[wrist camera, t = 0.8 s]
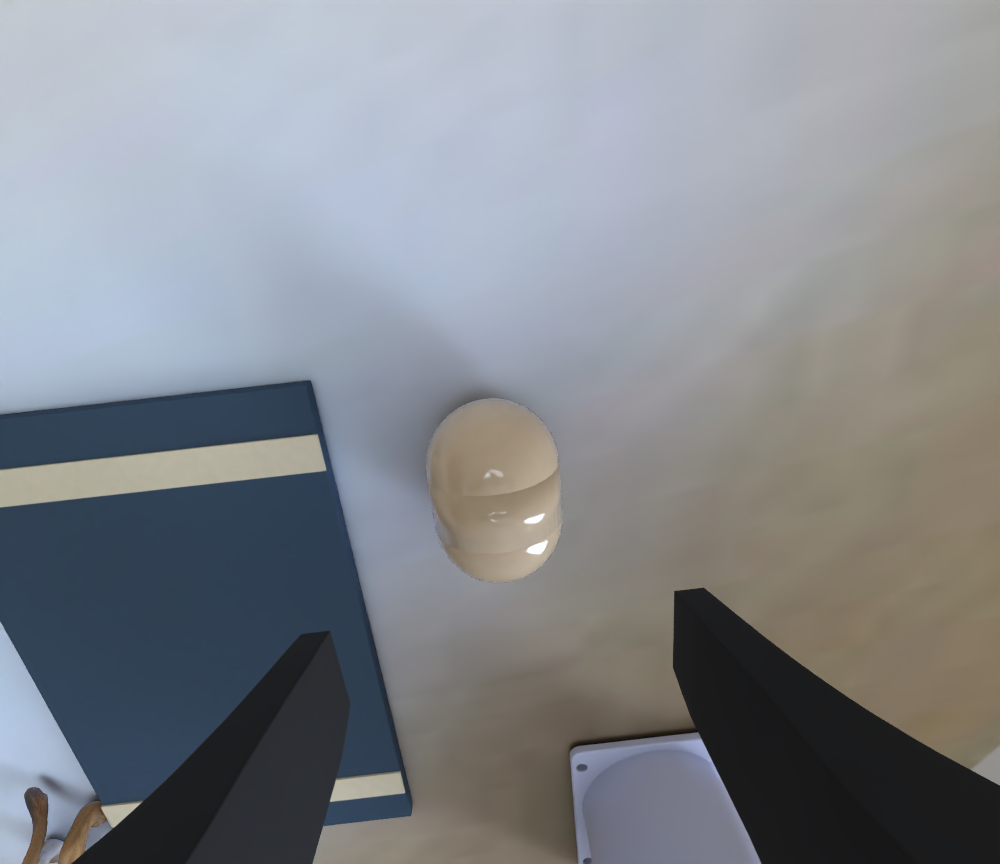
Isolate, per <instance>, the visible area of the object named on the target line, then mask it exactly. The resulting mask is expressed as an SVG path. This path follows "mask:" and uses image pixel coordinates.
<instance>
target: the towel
mask: <svg viewBox="0 0 1000 864" xmlns="http://www.w3.org/2000/svg"><path fill="white" fill-rule="evenodd" d="M0 621H1V623H2V625H3V627H4V628H5V630H6V632H7V634H8V636H9V637H10V639H11V641H12V643H13V645H14V646H15V648H16V650H17V652H18V654H19V655H20V657H21V659H22V661H23V663H24V664H25V666H26V668H27V670H28V672H29V673H30V675H31V677H32V679H33V681H34V682H35V684H36V686H37V688H38V690H39V691H40V693H41V695H42V697H43V699H44V700H45V702H46V704H47V706H48V708H49V709H50V711H51V713H52V715H53V717H54V718H55V720H56V722H57V724H58V726H59V727H60V729H61V731H62V733H63V735H64V736H65V738H66V740H67V742H68V744H69V745H70V747H71V749H72V751H73V753H74V754H75V756H76V758H77V760H78V762H79V763H80V765H81V767H82V769H83V771H84V772H85V774H86V776H87V778H88V780H89V781H90V783H91V785H92V787H93V789H94V790H95V792H96V794H97V796H98V798H99V799H100V801H101V803H102V806H101V809H102V811H103V813H104V814H105V816H106V818H107V820H108V821H109V823H110V825H111V827H115V826H116V825H118V824H119V823H120V822H121V821H122V820H123V819H124V818H125V817H126V816H127V815H129V814H130V813H131V812H132V811H133V810H134V809H135V808H136V807H137V806H139V805H140V804H141V803H142V802H143V801H144V800H145V799H146V798H147V797H148V796H150V795H151V794H152V793H153V792H154V791H155V790H156V789H157V788H158V787H159V786H160V785H161V784H162V783H163V782H164V781H165V780H166V779H167V778H168V777H169V776H171V775H172V774H173V773H174V772H175V771H176V770H177V769H178V768H179V767H180V766H181V765H182V764H183V763H184V762H185V760H186V759H187V758H188V757H189V756H190V755H191V754H192V753H193V752H194V751H195V750H196V749H197V748H198V747H199V746H200V745H201V744H202V743H203V742H204V741H205V740H206V739H207V738H208V737H209V736H210V735H211V734H212V733H213V732H214V731H215V730H216V728H217V727H218V726H219V725H220V724H221V723H222V722H223V721H224V720H225V719H226V718H227V717H228V716H229V715H230V714H231V712H232V711H233V710H234V709H235V708H236V707H237V706H238V705H239V704H240V703H241V701H242V700H243V699H244V698H245V697H246V696H247V695H248V694H249V692H250V691H251V690H252V689H253V688H254V687H255V686H256V685H257V683H258V682H259V681H260V680H261V679H262V678H263V677H264V676H265V674H266V673H267V672H268V671H269V670H270V669H271V668H272V666H273V665H274V664H275V663H276V662H277V661H278V660H279V658H280V657H281V656H282V655H283V654H284V653H285V651H286V650H287V649H288V648H289V647H290V646H291V645H292V644H293V642H294V641H295V640H296V639H297V638H298V637H299V636H300V635H301V634H305V633H314V632H322V631H331V635H332V638H333V642H334V646H335V649H336V653H337V657H338V660H339V664H340V667H341V671H342V675H343V678H344V682H345V685H346V689H347V693H348V696H349V700H350V704H351V705H350V712H349V719H348V725H347V732H346V738H345V743H344V749H343V755H342V759H341V763H340V767H339V771H338V774H337V778H336V781H335V785H334V789H333V792H332V796H331V799H330V803H329V807H328V810H327V814H326V817H325V821H324V824H323V826H327V825H336V824H345V823H353V822H362V821H370V820H379V819H388V818H396V817H405V816H411V813H412V800H411V796H410V792H409V788H408V783H407V779H406V775H405V771H404V767H403V763H402V758H401V754H400V750H399V746H398V742H397V738H396V734H395V729H394V725H393V721H392V717H391V713H390V709H389V704H388V700H387V696H386V692H385V688H384V684H383V680H382V675H381V671H380V667H379V663H378V659H377V655H376V650H375V646H374V642H373V638H372V634H371V630H370V626H369V621H368V617H367V613H366V609H365V605H364V601H363V596H362V592H361V588H360V584H359V580H358V576H357V572H356V567H355V563H354V559H353V555H352V551H351V547H350V542H349V538H348V534H347V530H346V526H345V522H344V518H343V513H342V509H341V505H340V501H339V497H338V493H337V489H336V484H335V480H334V476H333V472H332V468H331V464H330V459H329V455H328V451H327V447H326V443H325V439H324V435H323V430H322V426H321V422H320V418H319V414H318V410H317V405H316V401H315V397H314V393H313V389H312V385H311V381H302V382H293V383H284V384H275V385H266V386H257V387H248V388H239V389H230V390H221V391H212V392H203V393H194V394H185V395H176V396H167V397H158V398H149V399H140V400H131V401H122V402H113V403H104V404H95V405H86V406H77V407H68V408H59V409H50V410H42V411H33V412H24V413H15V414H6V415H0Z"/></svg>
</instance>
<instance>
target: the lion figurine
mask: <svg viewBox="0 0 1000 864" xmlns="http://www.w3.org/2000/svg"><path fill="white" fill-rule="evenodd" d="M24 798H25V802H26V805H27V808H28V810H29V812H30V815H31V818H32V823H33V834H32V839H31V843H30V846H29V849H28V851H27V854H26V856H25V858H24V860H23V863H22V864H48V863H55V862H58V864H71V863H72V862H74V861H75V860H76V859H77V858H78V857H80V856H81V855H82V854H83V853H84V852H85V846H86V841H87V837H88V833H89V830H90V828H91V827H97V826H99V825H100V824H102V823H104V822H105V821H106V820H107V818H106V816H105V814H104V813H103V811H102V809H101V806H102V803H101V801H93V802H90V803H88V804H86V805H85V806H84V807H83V808H82V809H81V810H80V811H79V813H78V815H77V816H76V818H75V820H74V822H73V824H72V826H71V828H70V830H69V832H68V834H67V836H66V838H65V841H64V842H63V841H61V840H58V839H48V840H46V841H45V842H44V840H45V837H46V831H47V823H48V822H47V817H48V796H47V794H45V793H43V792H42V791H41V790H40V789H39V788H36V787H32V788H29V789H27V791H26V792H25V794H24Z"/></svg>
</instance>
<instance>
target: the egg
mask: <svg viewBox="0 0 1000 864" xmlns="http://www.w3.org/2000/svg"><path fill="white" fill-rule="evenodd" d="M426 477H427V483H428V489H429V495H430V500H431V506H432V512H433V518H434V524H435V529H436V533H437V537H438V540H439V543H440V545H441V547H442V549H443V551H444V553H445V554H446V556H447V557H448V558H449V559H450V561H451V562H452V563H453V564H454V565H455V566H456V567H457V568H458V569H459V570H461V571H462V572H464V573H466V574H467V575H469V576H471V577H472V578H475V579H478V580H481V581H485V582H491V583H507V582H513V581H516V580H519V579H522V578H524V577H526V576H528V575H531V574H532V573H534V572H535V571H537V570H538V569H539V568H540V567H541V566H542V565H543V564H544V563H545V562H546V561H547V560H548V559H549V558H550V556H551V554H552V553H553V551H554V549H555V548H556V546H557V544H558V541H559V537H560V533H561V530H562V519H563V512H562V497H561V482H560V468H559V458H558V453H557V447H556V444H555V441H554V439H553V436H552V434H551V432H550V431H549V430H548V428H547V427H546V425H545V424H544V422H543V421H542V420H541V419H540V418H539V417H538V416H537V415H536V414H535V413H534V412H532V411H531V410H530V409H528V408H526V407H524V406H523V405H521V404H519V403H516V402H513V401H510V400H506V399H501V398H487V399H479V400H475V401H471V402H468V403H466V404H464V405H462V406H460V407H459V408H457V409H455V410H454V411H452V412H451V413H450V414H449V415H448V416H447V417H446V418H445V419H444V420H443V421H442V422H441V423H440V424H439V426H438V427H437V429H436V430H435V432H434V433H433V436H432V438H431V441H430V443H429V446H428V449H427V455H426Z"/></svg>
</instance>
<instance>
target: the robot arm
mask: <svg viewBox="0 0 1000 864" xmlns="http://www.w3.org/2000/svg"><path fill="white" fill-rule="evenodd" d="M673 668H674V671H675V674H676V677H677V680H678V683H679V686H680V689H681V692H682V694H683V697H684V700H685V702H686V705H687V708H688V711H689V713H690V716H691V718H692V720H693V722H694V725H695V727H696V729H697V731H698V732H696V733H687V734H679V735H670V736H661V737H653V738H644V739H635V740H627V741H618V742H609V743H601V744H592V745H583V746H577V747H575V748H573V749H572V750H571V751H570V767H571V780H572V792H573V805H574V818H575V831H576V844H577V857H578V864H1000V785H997V784H996V783H994V782H992V781H990V780H988V779H986V778H984V777H982V776H981V775H979V774H977V773H975V772H973V771H971V770H970V769H968V768H966V767H964V766H962V765H960V764H958V763H957V762H955V761H953V760H951V759H949V758H947V757H945V756H944V755H942V754H940V753H938V752H936V751H935V750H933V749H931V748H929V747H928V746H926V745H924V744H922V743H921V742H919V741H917V740H916V739H914V738H912V737H910V736H909V735H907V734H906V733H904V732H902V731H901V730H899V729H897V728H896V727H894V726H892V725H891V724H889V723H888V722H886V721H884V720H883V719H881V718H879V717H878V716H876V715H874V714H873V713H871V712H870V711H868V710H866V709H865V708H863V707H862V706H860V705H859V704H857V703H856V702H854V701H853V700H851V699H850V698H848V697H847V696H845V695H844V694H842V693H841V692H839V691H838V690H836V689H835V688H834V687H832V686H831V685H829V684H828V683H826V682H825V681H823V680H822V679H820V678H819V677H818V676H816V675H815V674H813V673H812V672H811V671H809V670H808V669H806V668H805V667H804V666H802V665H801V664H800V663H798V662H797V661H795V660H794V659H793V658H791V657H790V656H789V655H787V654H786V653H785V652H784V651H782V650H781V649H780V648H778V647H777V646H776V645H774V644H773V643H772V642H770V641H769V640H768V639H767V638H765V637H764V636H763V635H761V634H760V633H759V632H758V631H756V630H755V629H754V628H753V627H751V626H750V625H749V624H748V623H746V622H745V621H744V620H743V619H742V618H740V617H739V616H738V615H737V614H735V613H734V612H733V611H732V610H730V609H729V608H728V607H727V606H726V605H724V604H723V603H722V602H721V601H719V600H718V599H717V598H716V597H714V596H713V595H712V594H711V593H710V592H708V591H707V590H706V589H704V588H698V589H689V590H681V591H675V593H674V643H673ZM350 705H351V704H350V700H349V696H348V693H347V689H346V685H345V682H344V678H343V675H342V671H341V667H340V664H339V660H338V657H337V653H336V649H335V646H334V642H333V638H332V635H331V631H322V632H314V633H305V634H301V635H300V636H299V637H298V638H297V639H296V640H295V641H294V642H293V644H292V645H291V646H290V647H289V648H288V649H287V650H286V651H285V653H284V654H283V655H282V656H281V657H280V658H279V660H278V661H277V662H276V663H275V664H274V665H273V666H272V668H271V669H270V670H269V671H268V672H267V673H266V674H265V676H264V677H263V678H262V679H261V680H260V681H259V682H258V683H257V685H256V686H255V687H254V688H253V689H252V690H251V691H250V692H249V694H248V695H247V696H246V697H245V698H244V699H243V700H242V701H241V703H240V704H239V705H238V706H237V707H236V708H235V709H234V710H233V711H232V712H231V714H230V715H229V716H228V717H227V718H226V719H225V720H224V721H223V722H222V723H221V724H220V725H219V726H218V727H217V728H216V730H215V731H214V732H213V733H212V734H211V735H210V736H209V737H208V738H207V739H206V740H205V741H204V742H203V743H202V744H201V745H200V746H199V747H198V748H197V749H196V750H195V751H194V752H193V753H192V754H191V755H190V756H189V757H188V758H187V759H186V760H185V762H184V763H183V764H182V765H181V766H180V767H179V768H178V769H177V770H176V771H175V772H174V773H173V774H172V775H171V776H169V777H168V778H167V779H166V780H165V781H164V782H163V783H162V784H161V785H160V786H159V787H158V788H157V789H156V790H155V791H154V792H153V793H152V794H151V795H150V796H148V797H147V798H146V799H145V800H144V801H143V802H142V803H141V804H140V805H139V806H137V807H136V808H135V809H134V810H133V811H132V812H131V813H130V814H129V815H127V816H126V817H125V818H124V819H123V820H122V821H121V822H120V823H119V824H118V825H116V826H115V827H114V828H113V829H112V830H111V831H110V832H108V833H107V834H106V835H105V836H104V837H103V838H101V839H100V840H99V841H98V842H97V843H95V844H94V845H93V846H92V847H91V848H89V849H88V850H87V851H86V852H84V853H83V854H82V855H81V856H80V857H78V858H77V859H76V860H75V861H74V862H72V863H71V864H312V863H313V859H314V856H315V852H316V849H317V845H318V842H319V838H320V835H321V831H322V828H323V824H324V821H325V817H326V814H327V810H328V807H329V803H330V799H331V796H332V792H333V789H334V785H335V781H336V778H337V774H338V771H339V767H340V763H341V759H342V755H343V749H344V743H345V738H346V732H347V725H348V719H349V712H350Z"/></svg>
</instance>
